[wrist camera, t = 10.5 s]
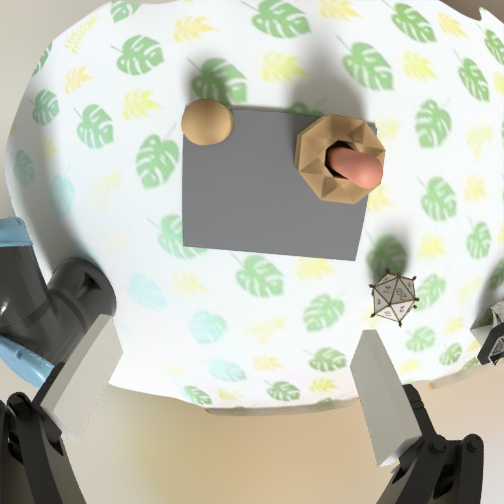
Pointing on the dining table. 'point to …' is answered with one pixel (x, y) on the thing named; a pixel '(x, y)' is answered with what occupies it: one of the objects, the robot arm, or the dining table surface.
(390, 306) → the game die
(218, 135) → the loose tan rounded knob
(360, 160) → the pink rounded cylinder
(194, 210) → the mat
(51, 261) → the dining table surface
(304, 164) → the bead
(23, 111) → the dining table surface
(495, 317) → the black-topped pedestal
